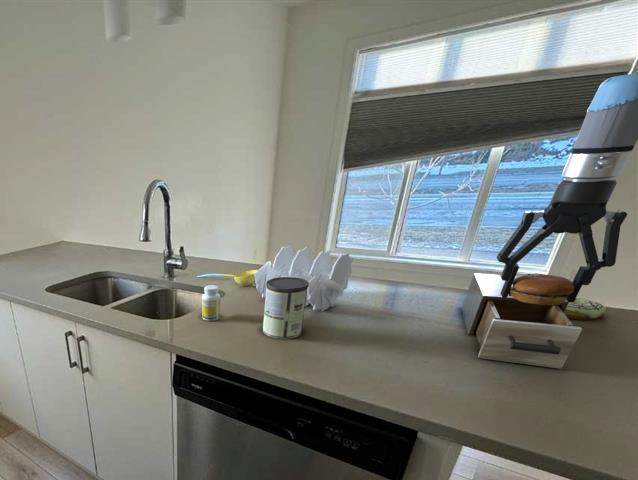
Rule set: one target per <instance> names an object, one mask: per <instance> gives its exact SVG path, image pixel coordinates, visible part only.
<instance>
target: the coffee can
mask: <svg viewBox="0 0 638 480" xmlns="http://www.w3.org/2000/svg"><path fill="white" fill-rule="evenodd" d="M266 286H267V287H266V297H264V298H265V300H264V312H263V324H262V333H264V334H265V335H266V336H268V337H271V338H274V339H293V338H297V337H299V336H301V335H302V332H303V331H302V330H303V324H304V316H305V309H306V306H305V303H306V296H307V289H308V286H309V282H308V281H306V280H304V279H300V278H294V277H280V278H274V279H270V280H268V281H267V282H266Z"/></svg>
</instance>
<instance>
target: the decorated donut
mask: <svg viewBox="0 0 638 480" xmlns="http://www.w3.org/2000/svg"><path fill="white" fill-rule="evenodd" d="M572 304H575V305H572ZM590 306H591V307H590ZM606 311H607V308H606V306H605V305H604V304H602V303H600V302H598V301H594V300H589V299H585V298H580V297H576V299H575V301H574V302H569V303H568V305H567V307H566V309H565V311H564V314H565V315H566V317H567V318H568V319H569V320H570V319H571V320H583V321H584V320H585V321H586V320H587V321H588V320H597V319H600V318H601V317H602V316H603V315H604V314H605V312H606Z"/></svg>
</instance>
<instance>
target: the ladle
mask: <svg viewBox="0 0 638 480" xmlns="http://www.w3.org/2000/svg"><path fill="white" fill-rule="evenodd" d="M258 270H259V269H250V270H246V271H243V272H239V273H236V274H227V273H206V274H201V275H197V278H205V277H233V278H234V281H235V282H236V284H238V285H240V286H242V287H249V286H251V285H253V284H255V277H254V273H255V272H256V271H258Z"/></svg>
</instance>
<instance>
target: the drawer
mask: <svg viewBox="0 0 638 480" xmlns="http://www.w3.org/2000/svg"><path fill="white" fill-rule="evenodd" d="M582 331H583V328H582V327H581V326H576V325H575V326H574V324H573V323H572V322H571V320H570V319H569V318H567V317H566V315H565V314H564V313H563V312H562V310H561V309H560V308H559V306H558V305H554V306H552V305H551V306H550V305H538V304H530V303H524V302H514V301H500V300H487V299H486V301H485V304H484V306H483V309H482V312H481V314H480V317H479V320H478V322H477V325H476V327H475V332H476V335H477V336H476V338H477V341H478V346H479V348H480V349H479V352H478V354H477V358H478V359H482V360H491V361H500V362H506V363H516V364H523V365H528V366H535V367H536V366H537V367H544V368H552V369H559V370H561V369H563V367H564V365H565V363H566V361H567V359H568V358H569V355H570V353H571V352H572V350H573V348H574V346H575V344H576V343H577V341H578V338H579V336H580V334H582V333H581V332H582Z"/></svg>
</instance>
